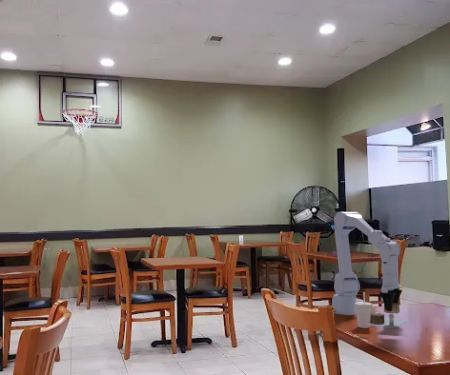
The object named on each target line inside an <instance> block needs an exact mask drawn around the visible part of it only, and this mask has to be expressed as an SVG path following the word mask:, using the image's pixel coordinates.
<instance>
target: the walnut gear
mask: <svg viewBox="0 0 450 375" xmlns="http://www.w3.org/2000/svg"><path fill="white" fill-rule="evenodd" d="M375 313H376V312H371V317H370V322H372V323H379V324H381V323H385V320H384V317H385V313H381V312H378V313H379V315H375Z"/></svg>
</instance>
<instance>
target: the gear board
mask: <svg viewBox="0 0 450 375" xmlns="http://www.w3.org/2000/svg"><path fill="white" fill-rule="evenodd" d="M374 313H375V315H379V313H380V312H374ZM388 314H389V315H388V316H384V320H385V323H381V324H379V323H372V322H370V326H373V327H381V328H387V329H388V328H389V329H397V328H398V327H400V326H401V325H403V324H405V323H407V322H409V321H410V319H405V318H398V317H395V316H394V313H393V314H391V313H388Z"/></svg>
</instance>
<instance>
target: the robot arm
mask: <svg viewBox="0 0 450 375" xmlns="http://www.w3.org/2000/svg"><path fill="white" fill-rule="evenodd" d="M333 221H334V222H333V224H334V238H335V245H336V248H335V249H336V255H337V257H336V258H337V263H338V273H337V274H336V275H335V276H334V283H333V288H334V292H335V294H333V296H332V300H331V303H332V304H331V305H332V307H333V308H334V309H335V311H334V313H333V314H338V315H344V316H356V315H357V314H356V307H355V306H354V305H355V303H356V302H357V295H358V292H359V291H360V289H361V287H360V286H361V284H360V281H359V279H358V275H357V274H356V273H355V272H354V271H353V266H352V259H351V257H352V256H351V248H350V242H349V234H350V232H351V231H353V230H354V229H356V228H357V230H359V231H361V232H362V233H363V234H364V235H366V237H367V240H368V241H369V243H370V244H372V245H373V246H374V247H375V248H376V249H377V251H378V254H379V256H380V260H381V264H382V267H381V268H382V270H381V272H382V286H381V290H380V291H379V296H380V297H381V299H382V302H383V307H384V306H385V310H386V311H392V307H393V303H396V304H399V300H400V297H401V294H402V292H403V289H401V288H403V286H402V285H400V282H399V256H400V254H401V253H402V248H401V245H400V243H399V242H398V241H396V240H395V241H392V240H391V238H390V237H387V236H386V235H385V234H384V233H383V231H382V230H381V229H380V230H379V229H378V230H377V229H374V228H373V227H372V226H370V224H368V222H367V221H365V219H364V218H363V215H361V214H360V213H359V212H358V211H338V212H337V213H336V214H335V216H334V218H333ZM332 307H331V308H332Z"/></svg>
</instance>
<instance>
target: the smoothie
mask: <svg viewBox="0 0 450 375" xmlns="http://www.w3.org/2000/svg"><path fill="white" fill-rule="evenodd" d="M362 294H363V301H356V303H355V305H354V306H355V307H356V314H355V315H356V318H357V319H356V320H357V327H359V328H360V329H361V328H362V329H368V328H370V327H371V325H370V317H371V313H372V308H373V303H372V302H368V301H366V292H365V291H363V293H362Z"/></svg>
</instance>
